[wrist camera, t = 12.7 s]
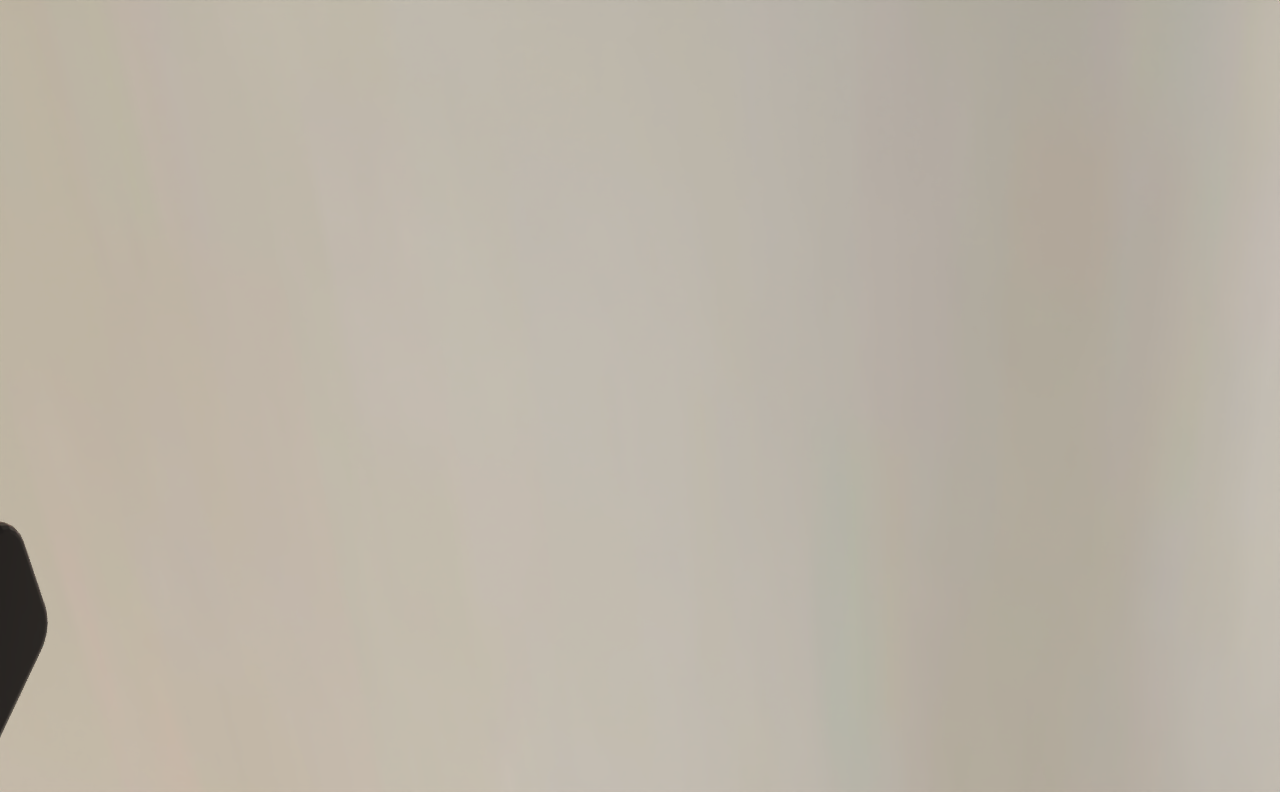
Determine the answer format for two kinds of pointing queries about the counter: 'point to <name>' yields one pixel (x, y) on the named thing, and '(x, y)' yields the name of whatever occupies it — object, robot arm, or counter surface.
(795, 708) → the counter surface
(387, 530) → the counter surface
